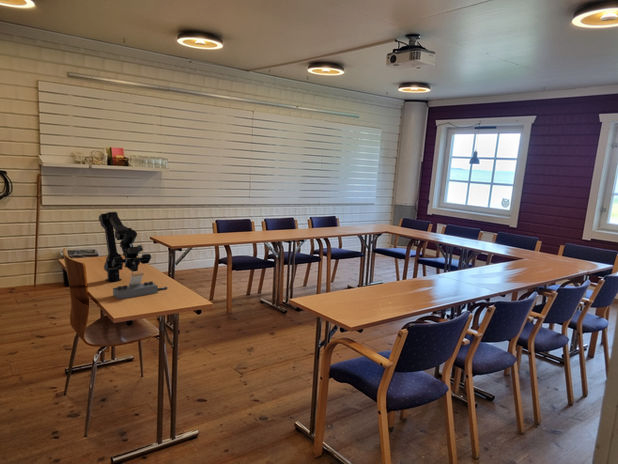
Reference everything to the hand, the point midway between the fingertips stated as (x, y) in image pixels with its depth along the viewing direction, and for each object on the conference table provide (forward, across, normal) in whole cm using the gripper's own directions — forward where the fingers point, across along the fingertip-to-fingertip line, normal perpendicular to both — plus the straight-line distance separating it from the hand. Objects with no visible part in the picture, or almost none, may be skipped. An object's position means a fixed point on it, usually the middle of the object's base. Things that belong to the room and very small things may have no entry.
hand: (136, 273), depth 221 cm
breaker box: (+7, +3, +9) cm, 12 cm away
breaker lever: (+2, 0, +6) cm, 6 cm away
